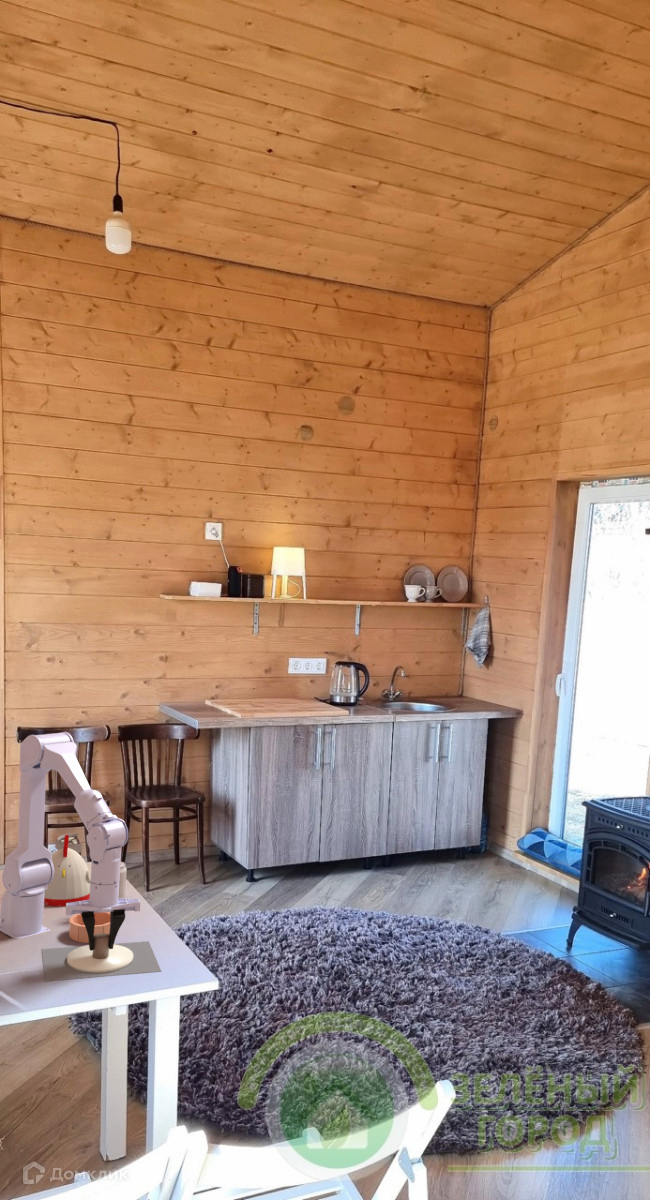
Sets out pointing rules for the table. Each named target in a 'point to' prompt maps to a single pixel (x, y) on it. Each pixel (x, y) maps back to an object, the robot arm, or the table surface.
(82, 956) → the lid
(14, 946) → the table surface
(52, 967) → the mat
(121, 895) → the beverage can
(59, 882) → the kitchen timer
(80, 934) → the bowl
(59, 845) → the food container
